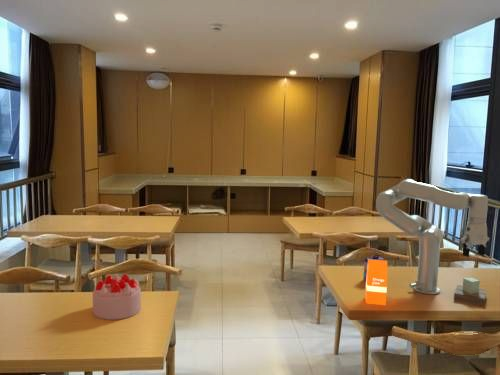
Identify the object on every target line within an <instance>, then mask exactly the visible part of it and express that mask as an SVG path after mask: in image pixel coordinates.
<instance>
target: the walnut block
mask: <svg viewBox="0 0 500 375" xmlns="http://www.w3.org/2000/svg"><path fill="white" fill-rule="evenodd" d="M462 289H463V285H458V284H457V286H456V288H455V291H454V294H453V301H455V302H461V303H467V304H472V305H477V306H482V307H485V305H486V297H487V290H486V289H482V288H479V293H473V294H470V293H468V292H465V291H463V290H462Z"/></svg>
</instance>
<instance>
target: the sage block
mask: <svg viewBox="0 0 500 375" xmlns="http://www.w3.org/2000/svg"><path fill="white" fill-rule="evenodd" d="M480 282H481V281H480V280H479V279H476V278H473V277H464V278H463V280H462V286H463V289H462V290H463V291H465V292H468V293H470V294H473V293H479V289H480Z"/></svg>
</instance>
